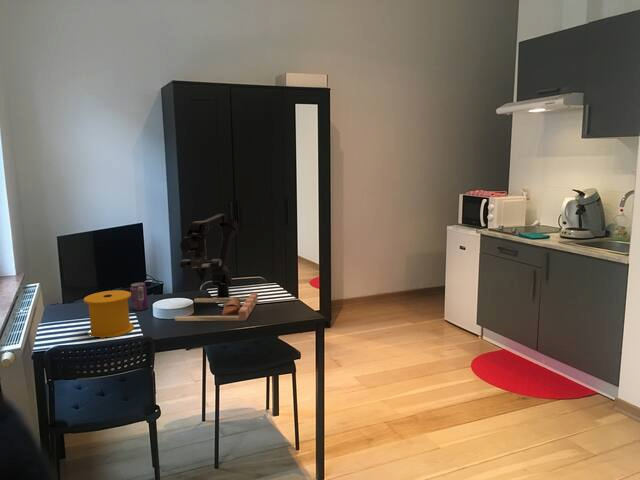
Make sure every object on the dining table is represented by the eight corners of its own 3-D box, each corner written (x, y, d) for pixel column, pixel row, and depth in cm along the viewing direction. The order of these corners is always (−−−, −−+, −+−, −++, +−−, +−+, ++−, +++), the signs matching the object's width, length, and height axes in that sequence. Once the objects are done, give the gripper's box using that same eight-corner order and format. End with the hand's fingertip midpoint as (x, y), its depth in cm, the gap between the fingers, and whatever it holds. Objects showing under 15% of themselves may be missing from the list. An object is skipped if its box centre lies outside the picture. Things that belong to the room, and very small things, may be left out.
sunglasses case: (222, 304, 249) (228, 292, 249) (235, 310, 251) (241, 298, 250) (221, 315, 232) (228, 302, 231) (235, 322, 233) (243, 309, 233)
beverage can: (150, 306, 248) (148, 282, 246) (144, 311, 241) (141, 286, 239) (136, 306, 249) (134, 282, 247) (129, 311, 242) (127, 286, 240)
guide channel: (195, 301, 256) (194, 293, 255) (257, 300, 254) (257, 292, 253) (175, 320, 226) (174, 312, 225) (245, 320, 224) (245, 311, 223)
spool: (87, 341, 204) (83, 304, 202) (87, 327, 220) (83, 293, 218) (135, 333, 211) (132, 298, 209) (132, 321, 227) (129, 287, 225)
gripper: (174, 252, 236) (176, 285, 239) (214, 251, 235) (216, 285, 238) (182, 247, 247) (184, 279, 250) (221, 247, 246) (222, 279, 249)
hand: (201, 280), depth 246 cm, fingers closed
